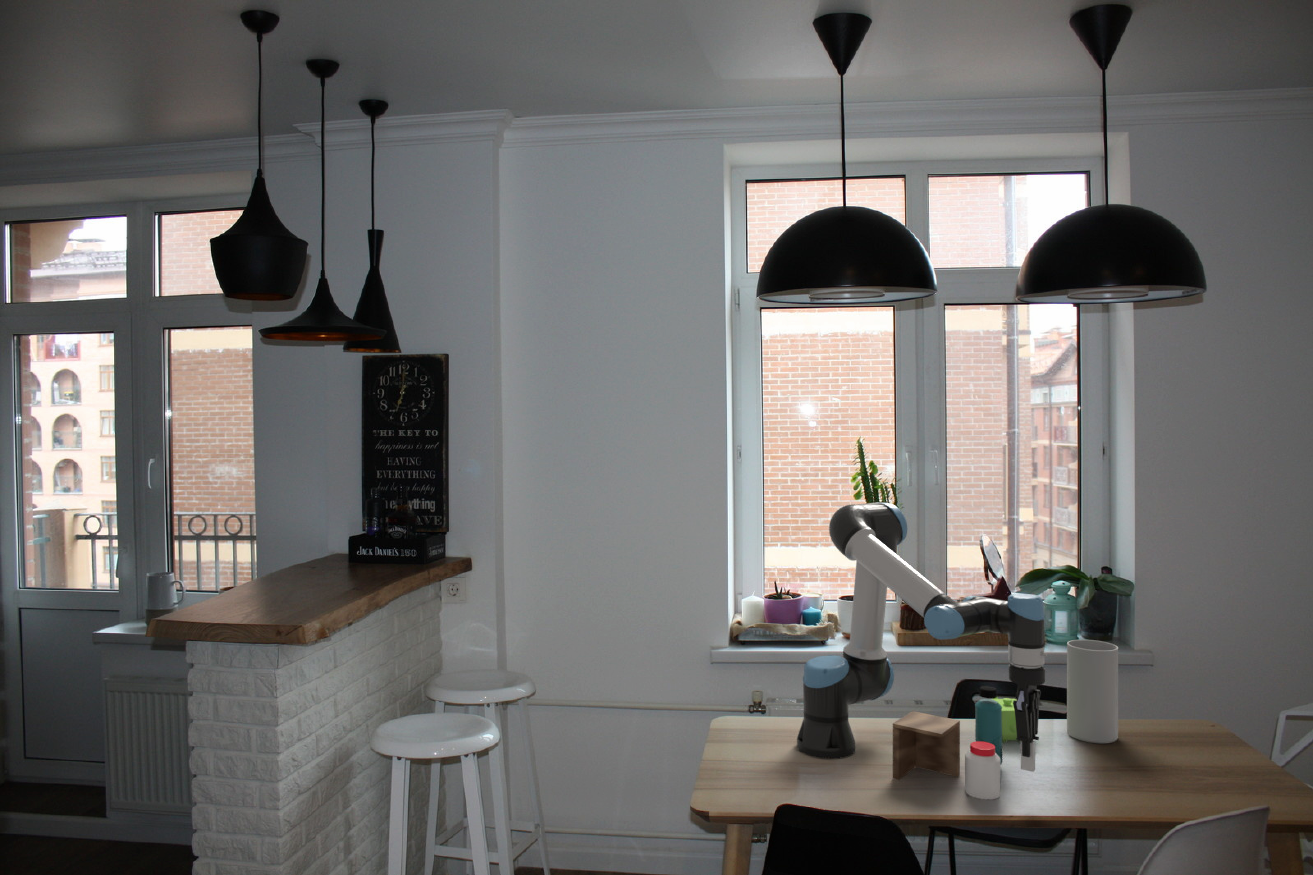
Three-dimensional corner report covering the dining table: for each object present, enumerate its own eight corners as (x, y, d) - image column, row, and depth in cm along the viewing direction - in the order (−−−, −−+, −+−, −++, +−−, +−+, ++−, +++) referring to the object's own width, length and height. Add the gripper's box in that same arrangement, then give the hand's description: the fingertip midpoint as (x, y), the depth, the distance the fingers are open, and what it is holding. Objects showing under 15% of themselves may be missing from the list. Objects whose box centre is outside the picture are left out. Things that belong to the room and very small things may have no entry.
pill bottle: (959, 786, 209) (959, 740, 209) (990, 785, 210) (990, 739, 210) (974, 800, 201) (974, 752, 201) (1006, 799, 202) (1006, 750, 202)
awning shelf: (892, 778, 214) (892, 723, 214) (912, 763, 223) (912, 711, 223) (941, 791, 207) (941, 734, 206) (959, 775, 216) (959, 720, 216)
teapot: (1024, 751, 232) (1024, 710, 232) (973, 740, 240) (973, 701, 240) (1041, 735, 244) (1041, 696, 244) (991, 725, 252) (991, 688, 252)
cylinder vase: (1060, 727, 250) (1061, 639, 249) (1108, 729, 248) (1108, 640, 248) (1075, 743, 237) (1075, 650, 237) (1125, 745, 236) (1125, 651, 235)
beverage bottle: (1005, 773, 217) (1005, 692, 216) (976, 771, 218) (976, 690, 218) (1000, 763, 223) (1000, 684, 223) (972, 762, 224) (972, 683, 224)
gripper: (1035, 673, 192) (1037, 782, 192) (1052, 660, 202) (1053, 764, 202) (1000, 667, 196) (1001, 774, 196) (1018, 656, 207) (1019, 757, 207)
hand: (1028, 769), depth 199 cm, fingers closed
